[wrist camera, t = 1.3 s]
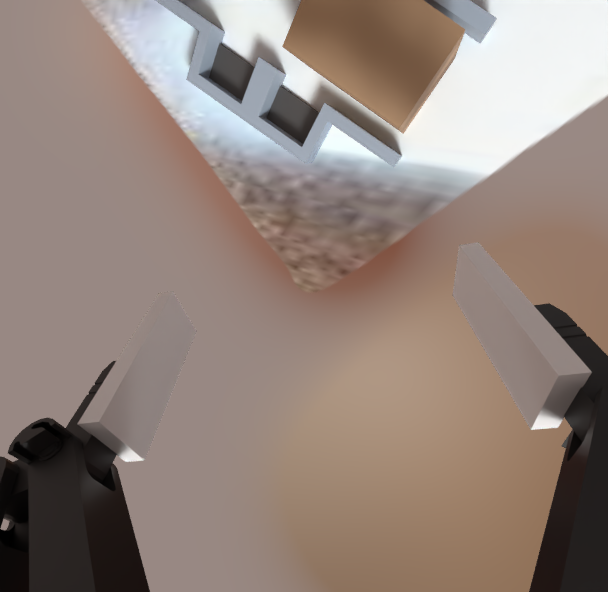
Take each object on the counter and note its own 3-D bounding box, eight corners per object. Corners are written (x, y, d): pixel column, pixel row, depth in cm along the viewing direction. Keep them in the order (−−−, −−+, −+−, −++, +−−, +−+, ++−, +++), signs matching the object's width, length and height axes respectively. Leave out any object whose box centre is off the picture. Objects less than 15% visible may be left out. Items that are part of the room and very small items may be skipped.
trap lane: (160, -196, 23) (128, -239, 21) (491, 28, 23) (499, 12, 20) (124, 30, 31) (98, 20, 29) (369, 203, 30) (364, 208, 28)
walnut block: (350, -14, 24) (328, -66, 18) (454, 59, 24) (465, 29, 18) (312, 69, 27) (282, 46, 21) (403, 133, 27) (398, 129, 21)
